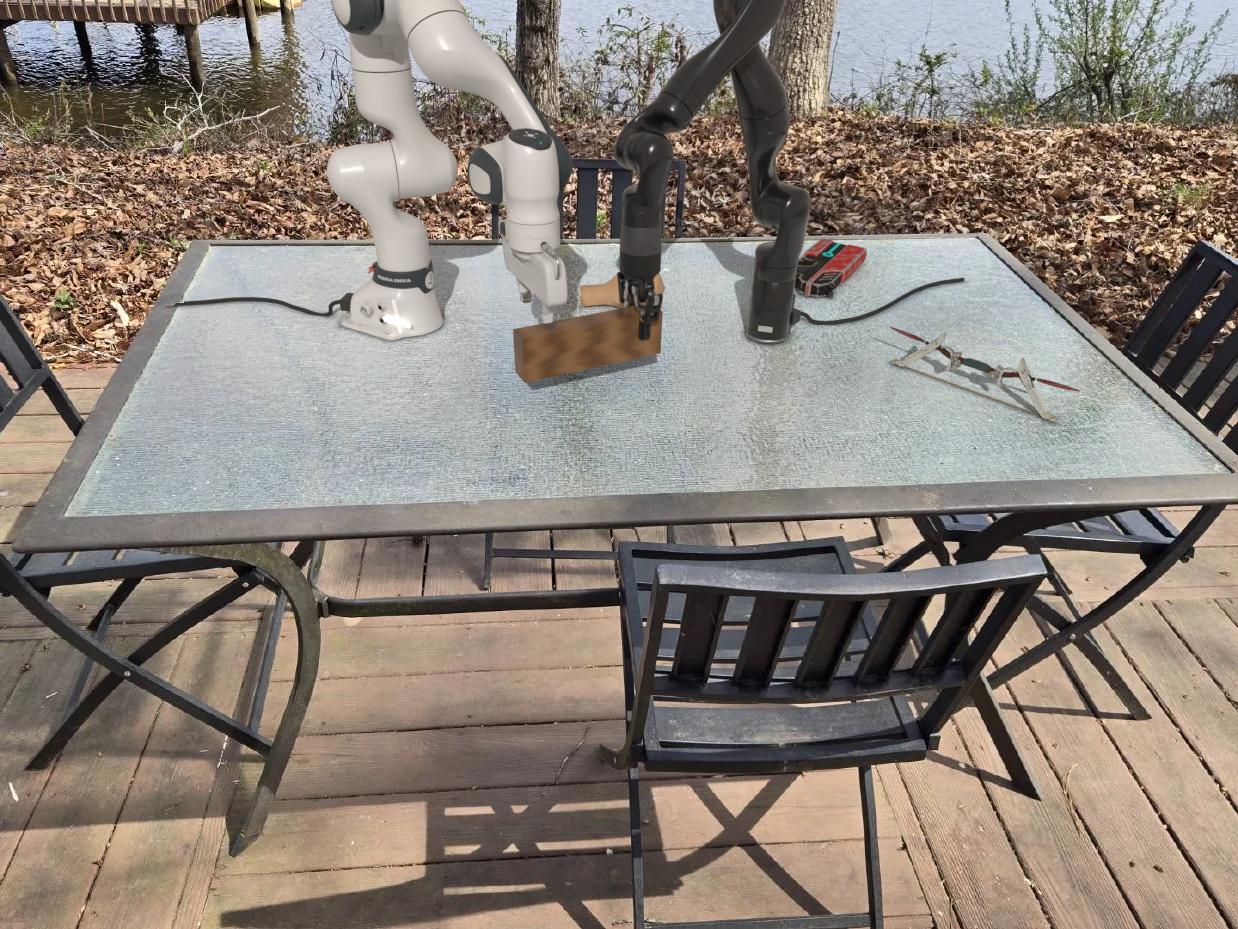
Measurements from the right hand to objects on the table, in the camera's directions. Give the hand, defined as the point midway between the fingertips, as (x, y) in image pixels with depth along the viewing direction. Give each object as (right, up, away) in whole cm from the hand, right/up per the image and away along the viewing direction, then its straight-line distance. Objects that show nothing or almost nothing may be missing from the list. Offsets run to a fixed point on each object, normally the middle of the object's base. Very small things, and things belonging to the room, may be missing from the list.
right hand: (637, 333), depth 166 cm
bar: (-9, -6, -2) cm, 11 cm away
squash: (-3, +12, +40) cm, 42 cm away
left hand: (-18, +2, -12) cm, 22 cm away
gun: (+47, +24, +61) cm, 80 cm away
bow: (+67, -10, +10) cm, 68 cm away
